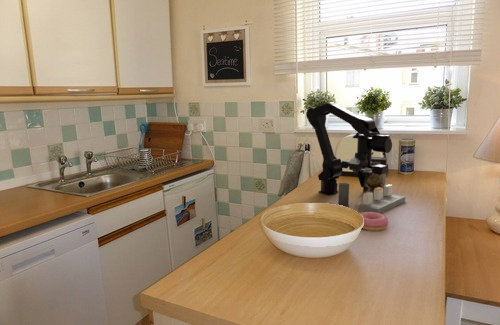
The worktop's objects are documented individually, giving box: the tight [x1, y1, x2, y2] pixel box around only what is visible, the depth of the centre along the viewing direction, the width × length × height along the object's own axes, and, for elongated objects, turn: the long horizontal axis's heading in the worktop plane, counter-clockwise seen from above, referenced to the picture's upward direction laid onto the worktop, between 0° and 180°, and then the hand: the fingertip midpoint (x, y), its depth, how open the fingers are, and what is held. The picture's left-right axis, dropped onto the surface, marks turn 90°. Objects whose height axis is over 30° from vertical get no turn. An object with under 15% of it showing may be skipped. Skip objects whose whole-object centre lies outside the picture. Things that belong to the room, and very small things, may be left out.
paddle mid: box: [373, 187, 383, 200], centre depth 147 cm, size 2×4×4 cm, turn 132°
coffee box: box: [362, 156, 388, 196], centre depth 162 cm, size 9×6×16 cm
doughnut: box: [359, 211, 389, 232], centre depth 125 cm, size 11×11×4 cm
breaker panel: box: [358, 193, 406, 214], centre depth 146 cm, size 8×22×2 cm, turn 133°
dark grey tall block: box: [337, 182, 350, 207], centre depth 146 cm, size 4×4×9 cm
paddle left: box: [362, 192, 374, 205], centre depth 142 cm, size 2×4×4 cm, turn 133°
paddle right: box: [384, 183, 394, 196], centre depth 153 cm, size 2×4×4 cm, turn 133°
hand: (362, 187), depth 152 cm, fingers closed
